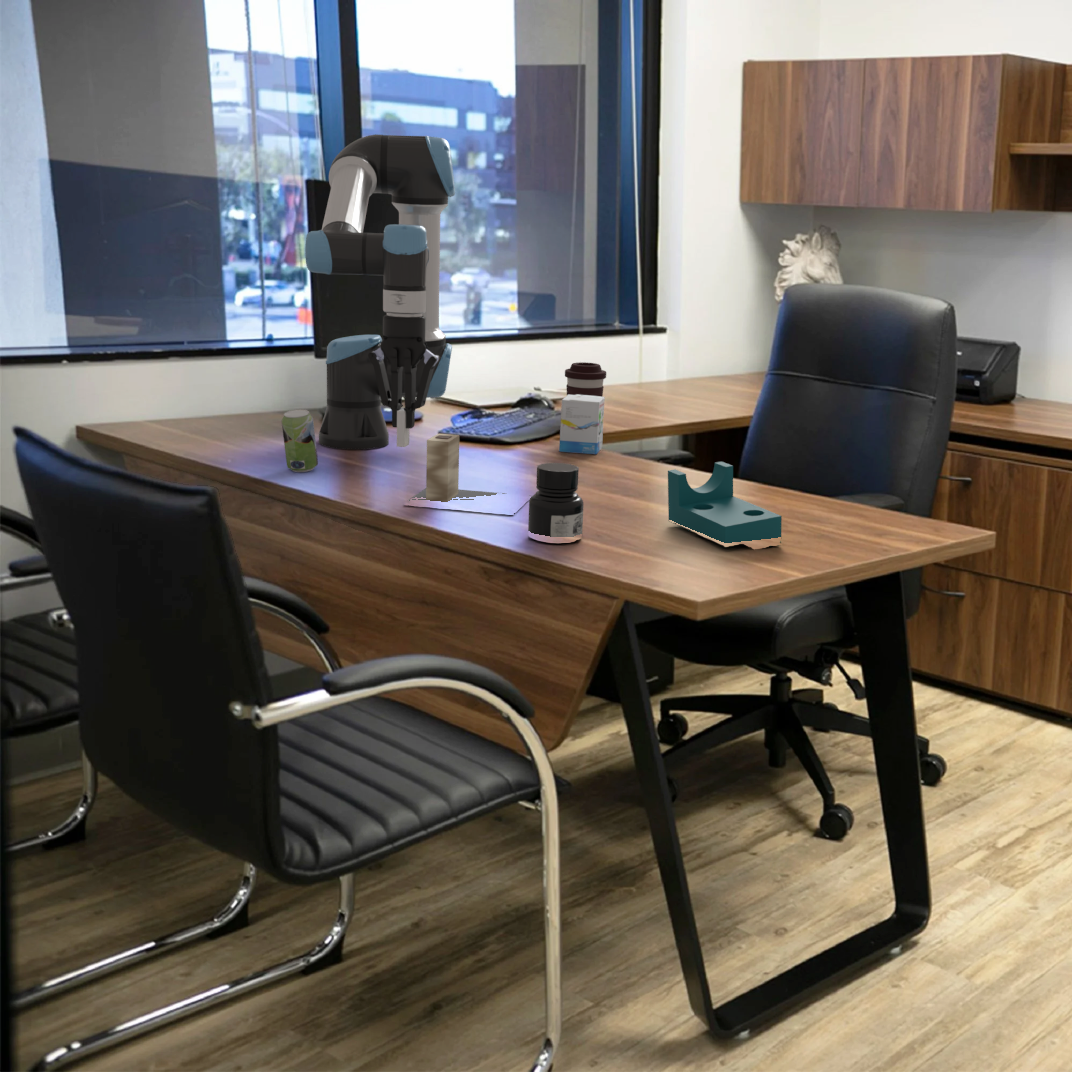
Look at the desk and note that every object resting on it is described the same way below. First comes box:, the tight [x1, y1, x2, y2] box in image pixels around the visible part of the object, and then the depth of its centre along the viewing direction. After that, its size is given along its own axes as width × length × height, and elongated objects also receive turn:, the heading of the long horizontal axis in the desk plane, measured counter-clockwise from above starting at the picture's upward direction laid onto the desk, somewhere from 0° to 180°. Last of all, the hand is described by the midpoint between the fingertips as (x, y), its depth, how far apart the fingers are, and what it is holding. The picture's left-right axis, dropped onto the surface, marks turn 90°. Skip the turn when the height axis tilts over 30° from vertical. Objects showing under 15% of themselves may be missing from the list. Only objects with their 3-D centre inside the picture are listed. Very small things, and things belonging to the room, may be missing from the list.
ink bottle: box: [527, 462, 584, 537], centre depth 214 cm, size 10×9×12 cm
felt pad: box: [408, 487, 506, 501], centre depth 237 cm, size 20×14×1 cm
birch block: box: [425, 433, 460, 502], centre depth 237 cm, size 4×7×11 cm, turn 167°
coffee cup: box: [564, 361, 607, 397], centre depth 315 cm, size 10×10×15 cm
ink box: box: [558, 394, 606, 455], centre depth 287 cm, size 8×8×12 cm
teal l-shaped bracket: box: [667, 461, 782, 543], centre depth 219 cm, size 18×11×10 cm, turn 25°
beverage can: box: [281, 408, 319, 473], centre depth 256 cm, size 6×7×12 cm
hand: (403, 445), depth 237 cm, fingers closed
